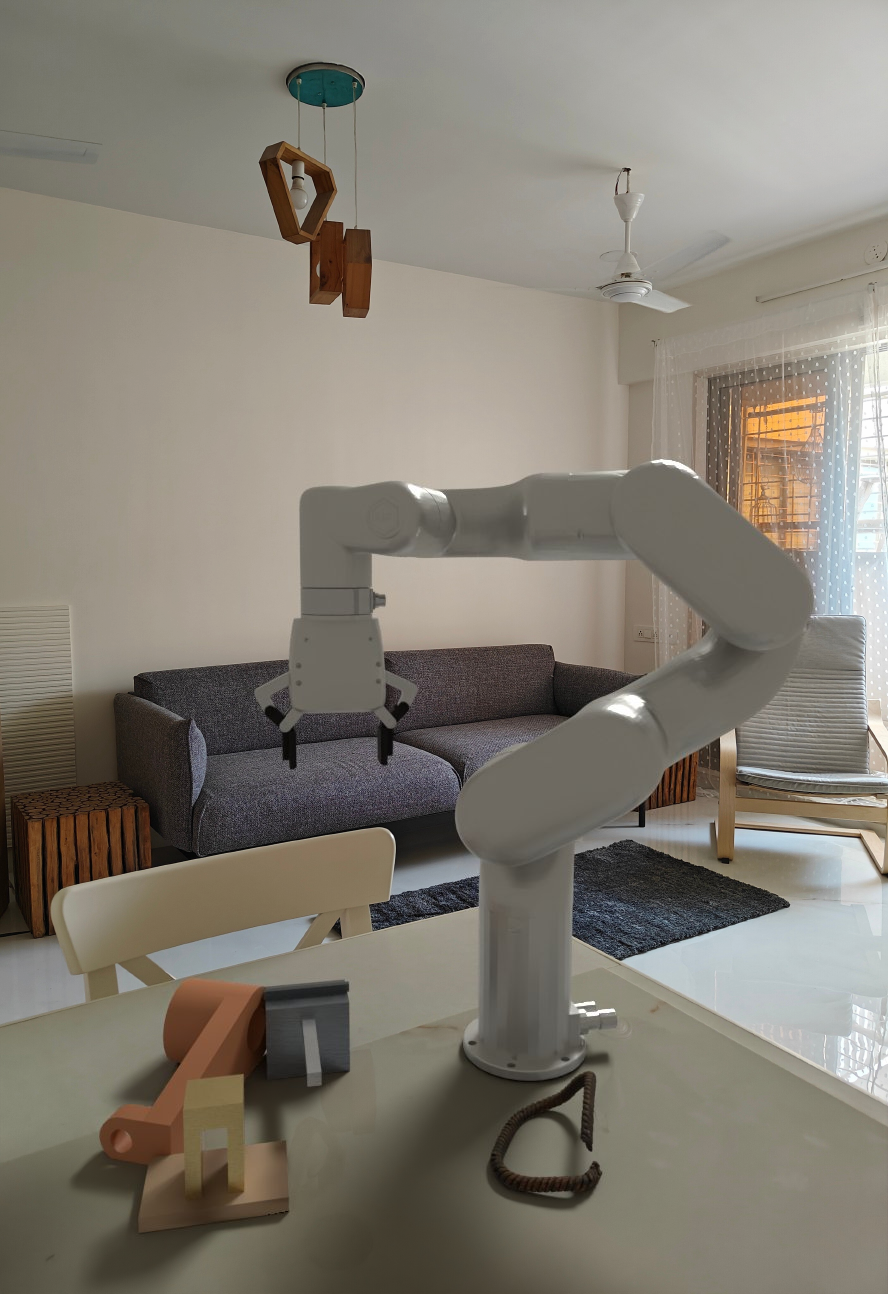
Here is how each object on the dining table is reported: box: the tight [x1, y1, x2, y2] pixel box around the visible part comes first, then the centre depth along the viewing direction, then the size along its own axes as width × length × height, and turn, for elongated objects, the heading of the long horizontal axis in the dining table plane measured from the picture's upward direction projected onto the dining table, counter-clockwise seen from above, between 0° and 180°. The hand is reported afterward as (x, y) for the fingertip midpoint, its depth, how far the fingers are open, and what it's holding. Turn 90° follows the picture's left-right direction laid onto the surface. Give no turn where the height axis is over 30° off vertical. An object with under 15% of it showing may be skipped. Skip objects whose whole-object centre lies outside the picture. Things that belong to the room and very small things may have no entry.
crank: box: [98, 977, 267, 1166], centre depth 84 cm, size 20×8×8 cm, turn 166°
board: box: [137, 1140, 290, 1234], centre depth 71 cm, size 11×7×1 cm, turn 102°
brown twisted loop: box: [489, 1070, 603, 1194], centre depth 76 cm, size 13×5×10 cm
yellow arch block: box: [183, 1074, 246, 1200], centre depth 70 cm, size 4×4×7 cm
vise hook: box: [264, 979, 351, 1087], centre depth 85 cm, size 8×16×8 cm, turn 12°
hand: (338, 764), depth 96 cm, fingers open, 9 cm apart
